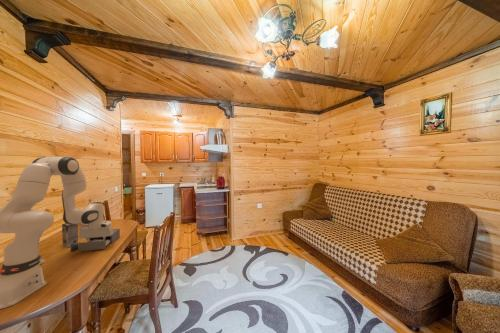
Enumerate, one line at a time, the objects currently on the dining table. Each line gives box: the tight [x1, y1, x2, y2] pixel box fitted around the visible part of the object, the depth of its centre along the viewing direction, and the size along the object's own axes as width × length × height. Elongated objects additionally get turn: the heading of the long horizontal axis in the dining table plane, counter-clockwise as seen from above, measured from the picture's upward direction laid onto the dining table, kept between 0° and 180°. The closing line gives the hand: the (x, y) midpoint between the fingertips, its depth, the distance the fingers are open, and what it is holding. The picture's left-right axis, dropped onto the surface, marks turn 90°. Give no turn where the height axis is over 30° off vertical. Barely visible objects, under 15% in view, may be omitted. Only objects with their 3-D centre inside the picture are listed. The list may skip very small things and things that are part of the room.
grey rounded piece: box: [69, 244, 78, 253], centre depth 133 cm, size 4×4×4 cm
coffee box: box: [61, 222, 79, 249], centre depth 142 cm, size 9×6×16 cm
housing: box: [89, 228, 121, 245], centre depth 149 cm, size 14×16×7 cm
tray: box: [77, 239, 111, 252], centre depth 138 cm, size 14×16×5 cm
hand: (96, 242), depth 138 cm, fingers closed on disc, 7 cm apart
